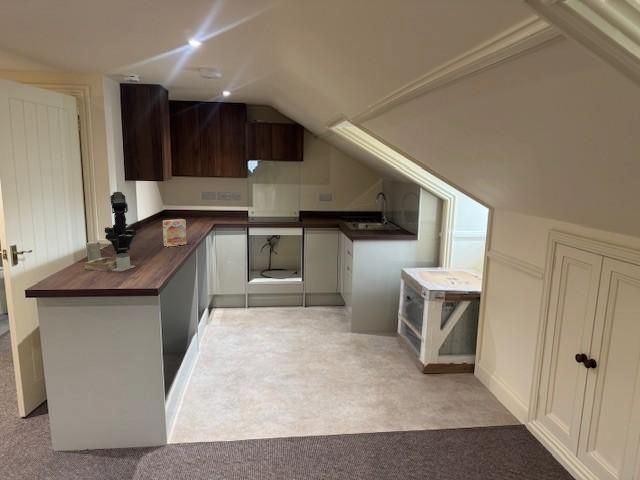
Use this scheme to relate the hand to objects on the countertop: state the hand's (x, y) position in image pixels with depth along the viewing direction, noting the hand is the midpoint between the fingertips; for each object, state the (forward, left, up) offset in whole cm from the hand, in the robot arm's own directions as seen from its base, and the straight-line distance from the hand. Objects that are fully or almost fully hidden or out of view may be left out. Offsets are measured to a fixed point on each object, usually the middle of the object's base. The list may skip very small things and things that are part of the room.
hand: (122, 249), depth 247 cm
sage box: (0, 0, -11) cm, 11 cm away
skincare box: (-10, -30, -12) cm, 33 cm away
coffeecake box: (-70, -13, -12) cm, 72 cm away
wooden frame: (0, -13, -11) cm, 17 cm away
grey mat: (0, 0, -11) cm, 11 cm away
